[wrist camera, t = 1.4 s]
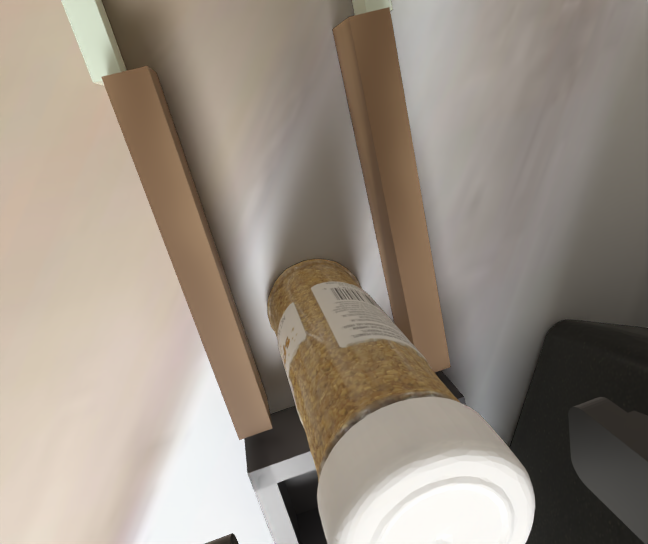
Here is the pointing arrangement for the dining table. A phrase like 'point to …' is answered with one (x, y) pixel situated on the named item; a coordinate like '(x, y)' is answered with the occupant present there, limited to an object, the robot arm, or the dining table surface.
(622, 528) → the flower pot
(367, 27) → the channel
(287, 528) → the bin
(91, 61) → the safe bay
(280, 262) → the dining table surface
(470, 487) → the sprinkles bottle
